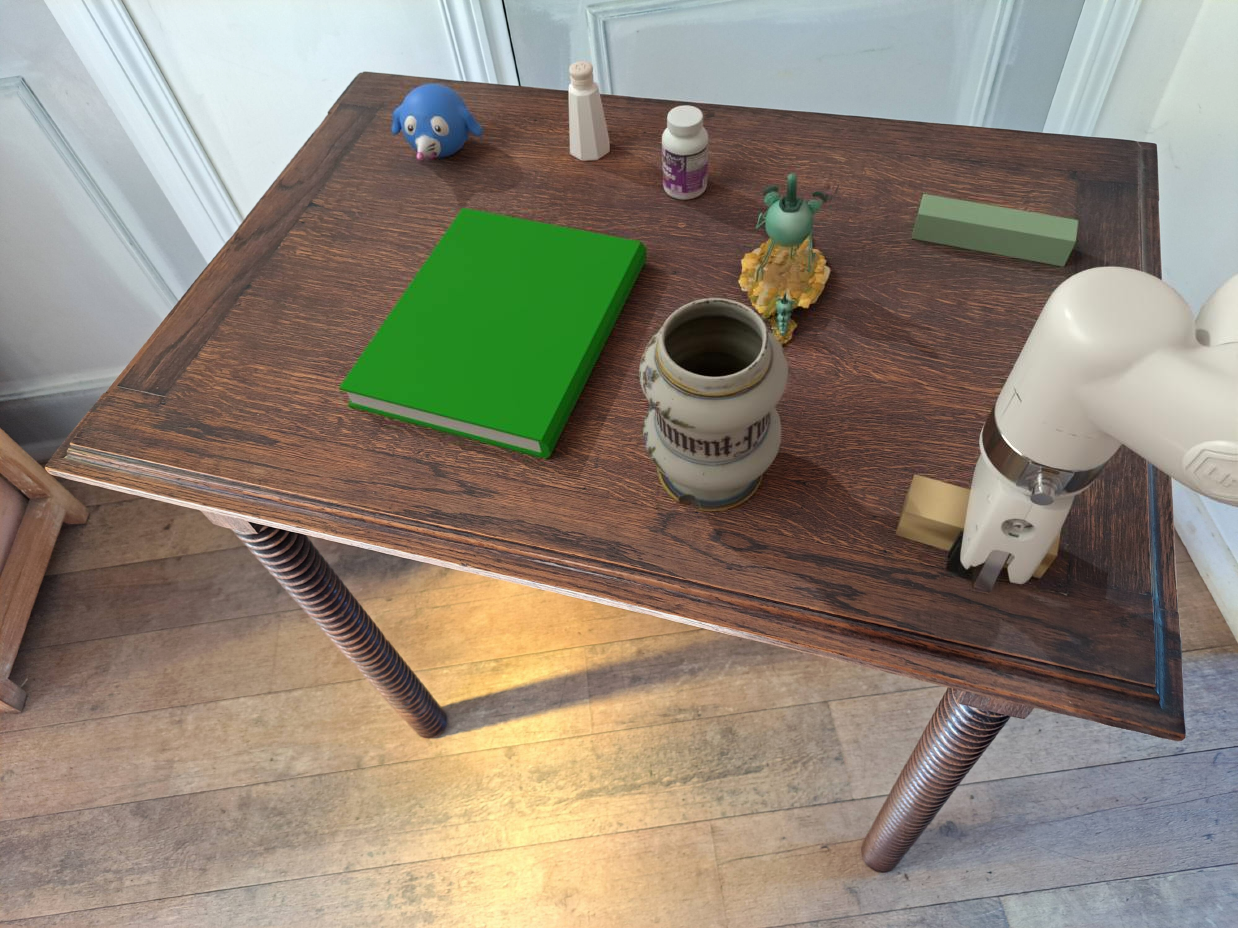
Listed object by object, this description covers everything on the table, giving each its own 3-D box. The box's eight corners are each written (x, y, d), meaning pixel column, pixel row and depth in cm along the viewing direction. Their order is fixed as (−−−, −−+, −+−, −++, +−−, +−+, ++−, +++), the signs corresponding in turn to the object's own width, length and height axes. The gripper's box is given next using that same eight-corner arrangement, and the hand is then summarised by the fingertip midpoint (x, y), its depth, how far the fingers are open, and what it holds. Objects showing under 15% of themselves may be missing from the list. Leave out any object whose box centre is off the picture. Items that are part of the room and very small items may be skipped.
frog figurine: (711, 334, 89) (717, 210, 78) (758, 238, 100) (770, 117, 89) (801, 355, 86) (822, 229, 75) (840, 254, 97) (863, 131, 86)
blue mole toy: (382, 187, 107) (360, 127, 100) (407, 129, 113) (389, 69, 107) (474, 190, 105) (459, 129, 98) (495, 131, 112) (482, 71, 105)
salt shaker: (577, 167, 106) (567, 85, 97) (562, 143, 109) (550, 61, 100) (617, 154, 107) (611, 71, 98) (601, 131, 110) (593, 49, 101)
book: (348, 406, 87) (338, 387, 84) (468, 228, 101) (462, 207, 99) (551, 460, 81) (546, 441, 79) (646, 263, 96) (645, 242, 93)
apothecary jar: (627, 502, 78) (613, 374, 63) (669, 403, 84) (664, 266, 69) (756, 538, 75) (772, 412, 60) (789, 433, 81) (812, 295, 66)
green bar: (1066, 245, 93) (1078, 220, 90) (1064, 267, 91) (1076, 241, 88) (916, 218, 97) (923, 193, 94) (911, 239, 95) (917, 213, 92)
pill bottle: (653, 185, 103) (651, 114, 95) (688, 167, 105) (688, 95, 97) (681, 208, 101) (680, 136, 93) (716, 189, 102) (718, 116, 94)
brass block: (1046, 539, 73) (1063, 515, 70) (1040, 578, 71) (1057, 555, 68) (904, 498, 76) (914, 473, 73) (895, 535, 74) (904, 511, 71)
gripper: (1102, 551, 51) (1003, 664, 66) (1113, 367, 58) (1022, 506, 73) (971, 517, 52) (904, 634, 68) (998, 342, 60) (932, 483, 75)
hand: (965, 567), depth 70 cm, fingers closed
